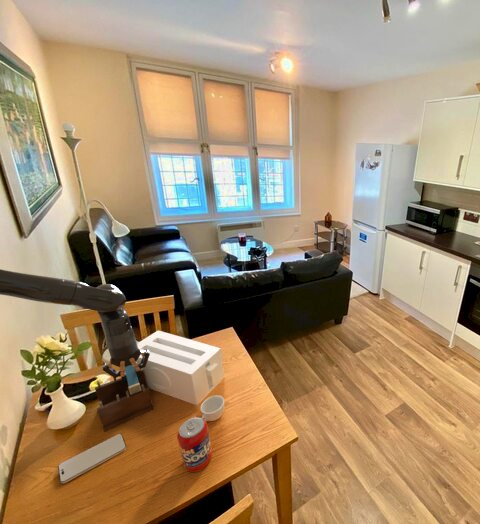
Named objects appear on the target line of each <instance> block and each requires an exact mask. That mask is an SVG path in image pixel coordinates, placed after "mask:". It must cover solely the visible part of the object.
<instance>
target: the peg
mask: <svg viewBox="0 0 480 524" xmlns="http://www.w3.org/2000/svg"><path fill="white" fill-rule="evenodd" d="M125 372H126V376H127V381H128V386H129V387H128V388H129V391H130V394H134V393H136V392H139V391H141V388H140V384H139V381H138V378H137V374H136V371H135V368H134V367H133V365H129V366H127V367H125Z"/></svg>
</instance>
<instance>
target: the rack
mask: <svg viewBox="0 0 480 524" xmlns="http://www.w3.org/2000/svg"><path fill="white" fill-rule="evenodd" d="M141 374H142V377H140V379H138V381H139V384H140V388H141V391H139V392H136V393H134V394H130V391H129V388H128V387H129V386H128V384H126V383H123V381H122V378H121V377H119V378H114V377H112V379H113V380H111V381H109V382H105V383H103V384H101V383H100V380H97V381H96V384H97V386H95V387H94V391H95V393H96V397H97V399H98V404H99V407H97V408H96V412H97V415H98V417H99V420H100V422H101V425H102V430H103V432H104V433H106V432H108V431H110V430H112V429H115V428H117V427H120V426H122V425H123V424H126V423H128V422H130V421H133V420H135V419H137V418H139V417H141V416H143V415H146V414H148V413H150V412H152V411H155V408H154V404H153V401H152V397H151V394H150V390H149V389H150V388H148V387H147V384H146V380H145V376H144V372H143V370H141Z"/></svg>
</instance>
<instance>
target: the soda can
mask: <svg viewBox="0 0 480 524" xmlns="http://www.w3.org/2000/svg"><path fill="white" fill-rule="evenodd" d="M177 442H178V446H179V450H180V454H181V459H182V463H183V467H184V469H185V471H187V472H190V473H195V472H196V473H197V472H200V471H201V470H203V469H204V468H206V467H207V466H208V465H209V464H210V462H211V460H212V458H213V448H212V442H211V437H210V431H209V426H208V423H207V421H204V418H203V419H202V418H201V417H199V416H194V417H191V418H188V419H186V420H185V421H184V422H183V423H182V424H181V425H180V427H179V429H178V431H177Z"/></svg>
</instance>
